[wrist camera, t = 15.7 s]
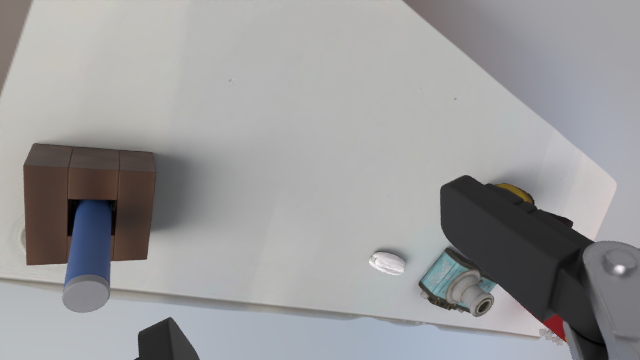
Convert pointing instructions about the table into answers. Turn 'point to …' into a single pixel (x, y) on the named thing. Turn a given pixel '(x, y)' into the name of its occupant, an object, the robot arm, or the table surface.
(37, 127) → the table surface
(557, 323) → the alarm clock
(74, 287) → the handle
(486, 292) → the camera
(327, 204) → the table surface
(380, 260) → the white oval lump
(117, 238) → the holder
